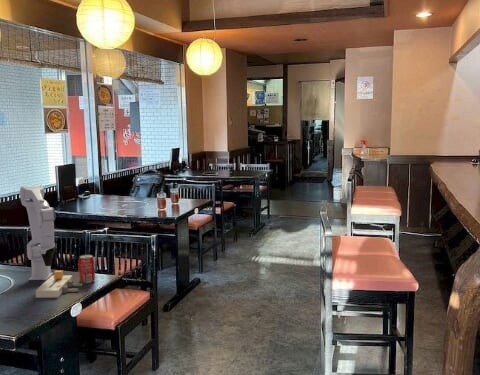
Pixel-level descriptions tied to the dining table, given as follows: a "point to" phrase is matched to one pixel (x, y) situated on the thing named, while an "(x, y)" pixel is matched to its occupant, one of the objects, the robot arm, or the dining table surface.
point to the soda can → (86, 269)
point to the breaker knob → (58, 274)
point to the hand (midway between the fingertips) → (48, 265)
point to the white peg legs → (71, 284)
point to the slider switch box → (53, 287)
